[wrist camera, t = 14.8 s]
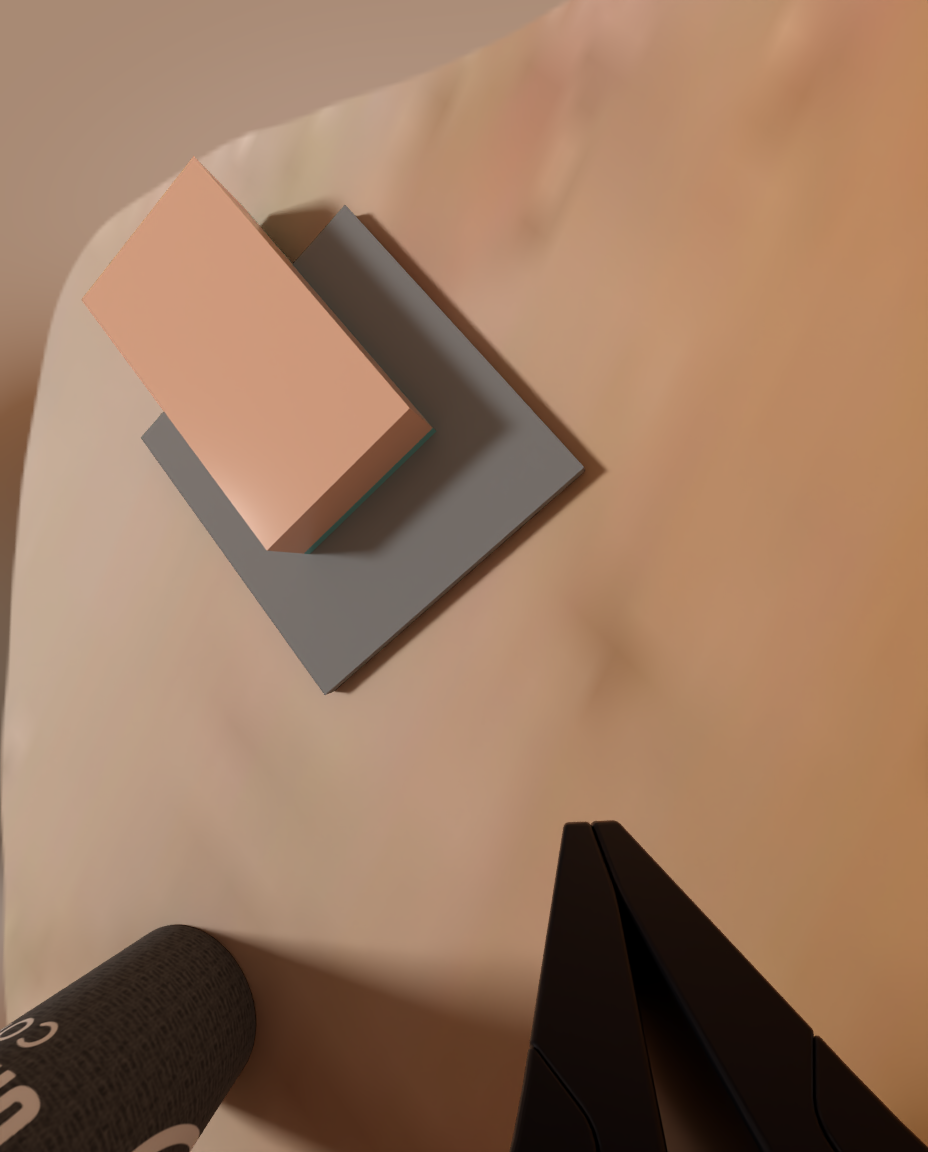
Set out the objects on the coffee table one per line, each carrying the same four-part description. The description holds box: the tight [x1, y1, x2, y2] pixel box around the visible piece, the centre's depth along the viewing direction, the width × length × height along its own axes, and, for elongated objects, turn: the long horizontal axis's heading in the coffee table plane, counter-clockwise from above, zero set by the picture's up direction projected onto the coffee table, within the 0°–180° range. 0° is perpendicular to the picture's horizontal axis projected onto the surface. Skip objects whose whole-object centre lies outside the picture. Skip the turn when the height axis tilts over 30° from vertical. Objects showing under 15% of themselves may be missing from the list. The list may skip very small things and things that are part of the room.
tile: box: [82, 156, 436, 554], centre depth 18 cm, size 2×6×12 cm
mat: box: [141, 205, 585, 695], centre depth 19 cm, size 13×12×1 cm
